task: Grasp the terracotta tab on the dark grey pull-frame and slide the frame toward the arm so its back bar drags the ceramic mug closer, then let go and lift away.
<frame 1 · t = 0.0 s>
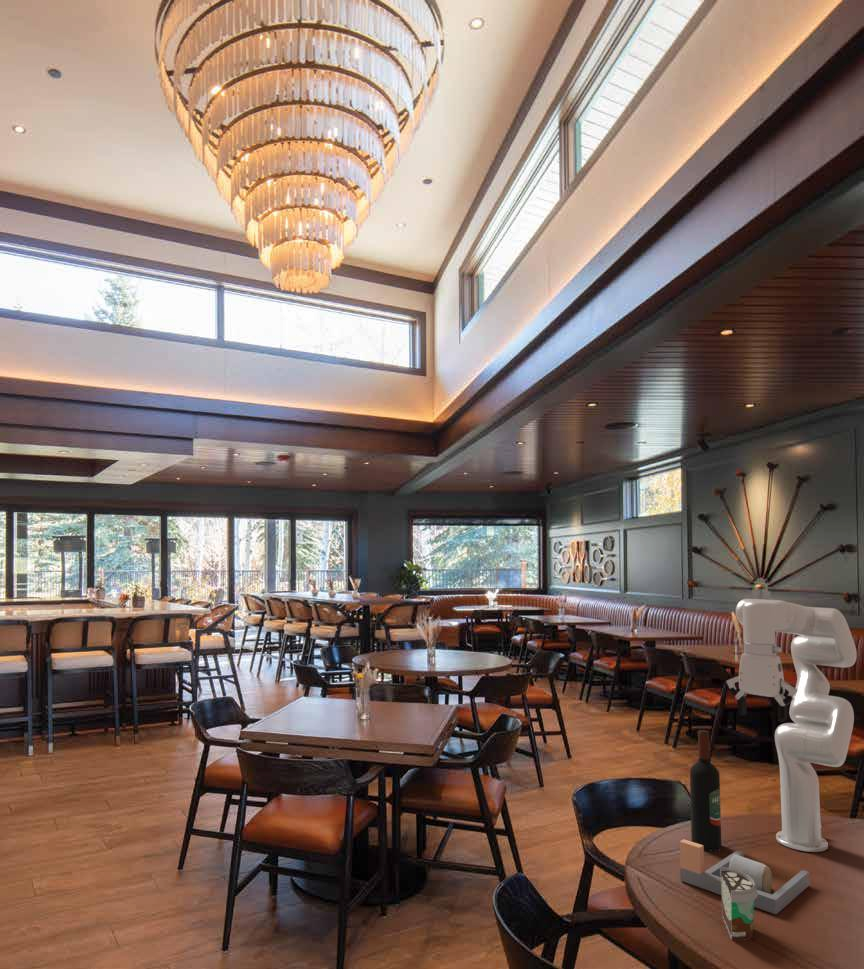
hand: (762, 718, 181), 37 cm above the table, tool pointing down, fingers open, 9 cm apart
wine bottle: (706, 846, 191), on the table
food container: (742, 931, 148), on the table
ceramic mug: (750, 892, 165), on the table
pull frame: (744, 863, 170), point 5 cm above the table, slide at 0.0 cm
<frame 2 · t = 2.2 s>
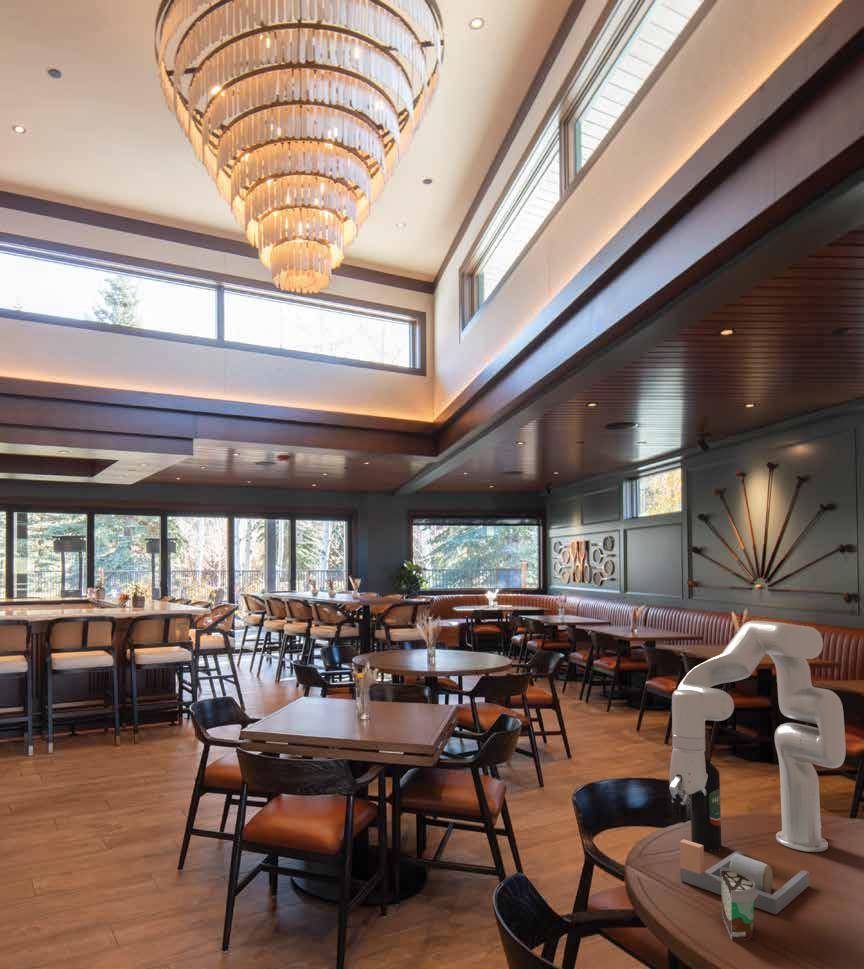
hand: (689, 816, 170), 16 cm above the table, tool pointing down, fingers open, 9 cm apart
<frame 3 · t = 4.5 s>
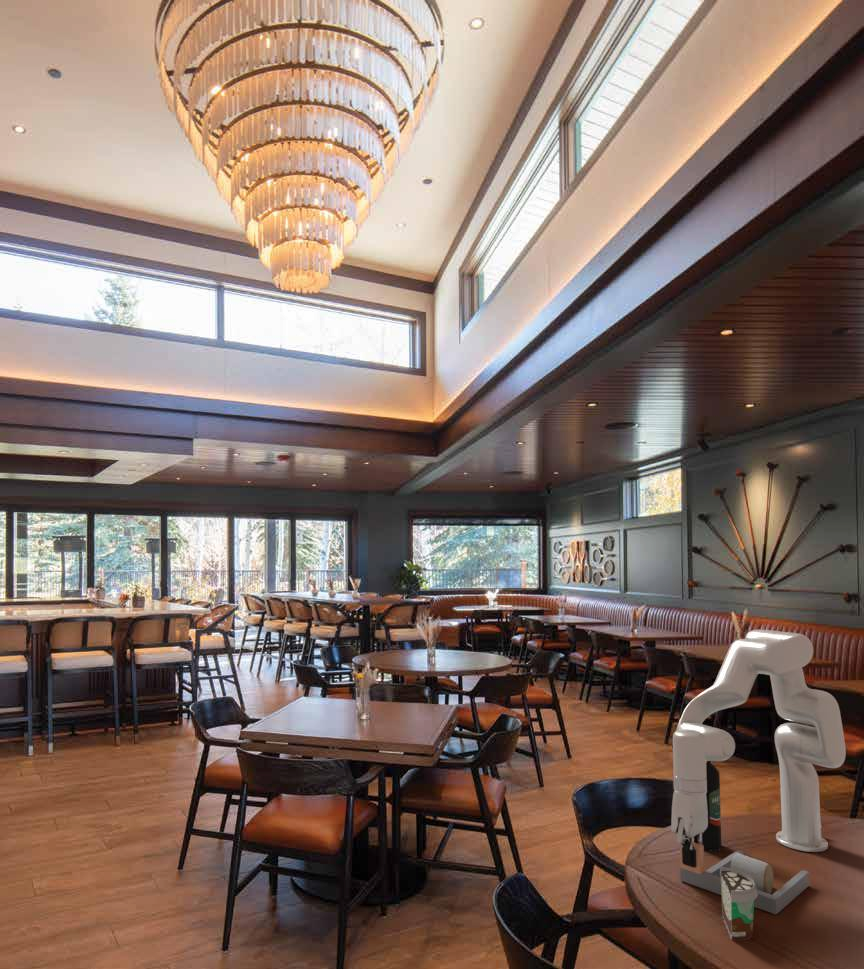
hand: (692, 863, 169), 5 cm above the table, tool pointing down, fingers closed on pull frame, 2 cm apart
pull frame: (744, 863, 170), point 5 cm above the table, slide at 0.0 cm, touching gripper
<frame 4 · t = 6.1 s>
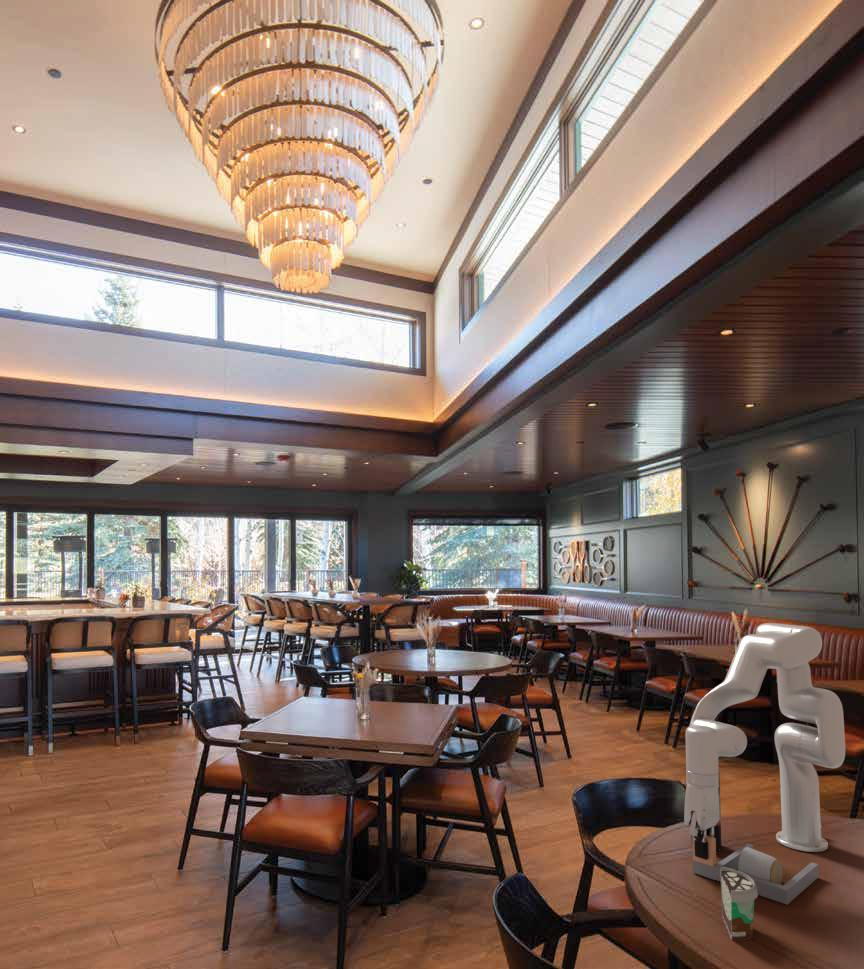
hand: (704, 855, 174), 5 cm above the table, tool pointing down, fingers closed on pull frame, 2 cm apart
ceramic mug: (762, 884, 169), on the table, touching pull frame
pull frame: (755, 855, 174), point 5 cm above the table, slide at 6.4 cm, touching ceramic mug, gripper
everything else where it was.
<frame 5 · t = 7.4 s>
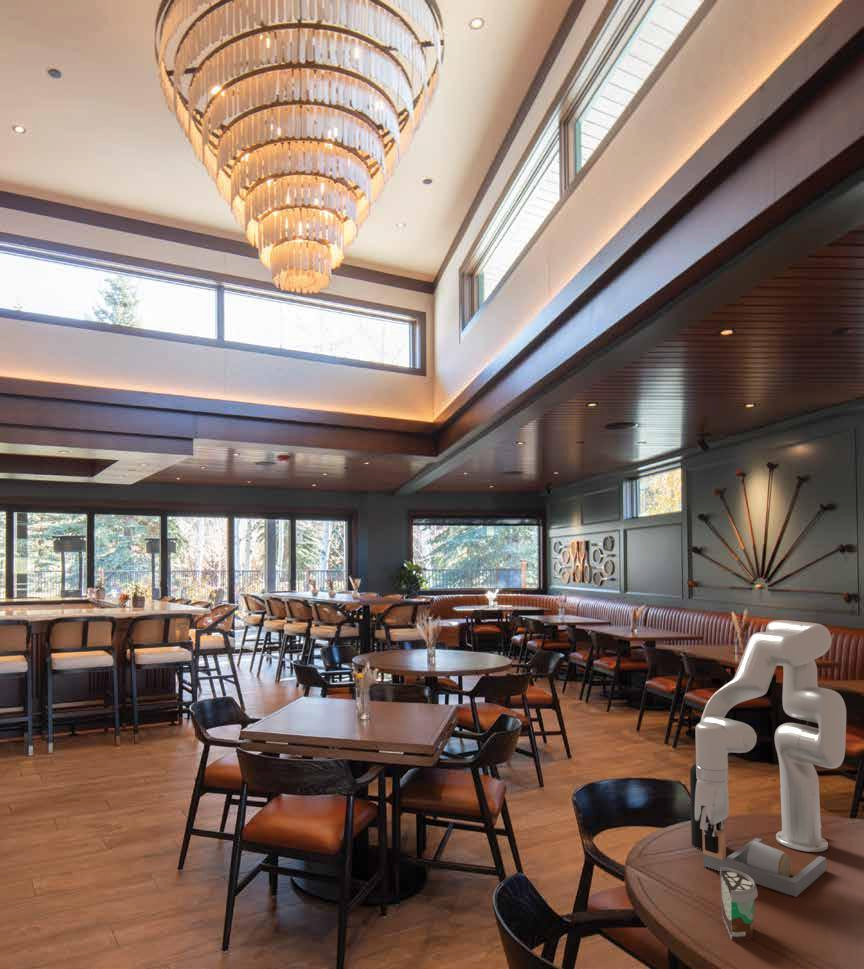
hand: (714, 849, 177), 5 cm above the table, tool pointing down, fingers closed on pull frame, 2 cm apart
ceramic mug: (770, 878, 173), on the table, touching pull frame
pull frame: (763, 849, 178), point 5 cm above the table, slide at 11.9 cm, touching ceramic mug, gripper
everything else where it was.
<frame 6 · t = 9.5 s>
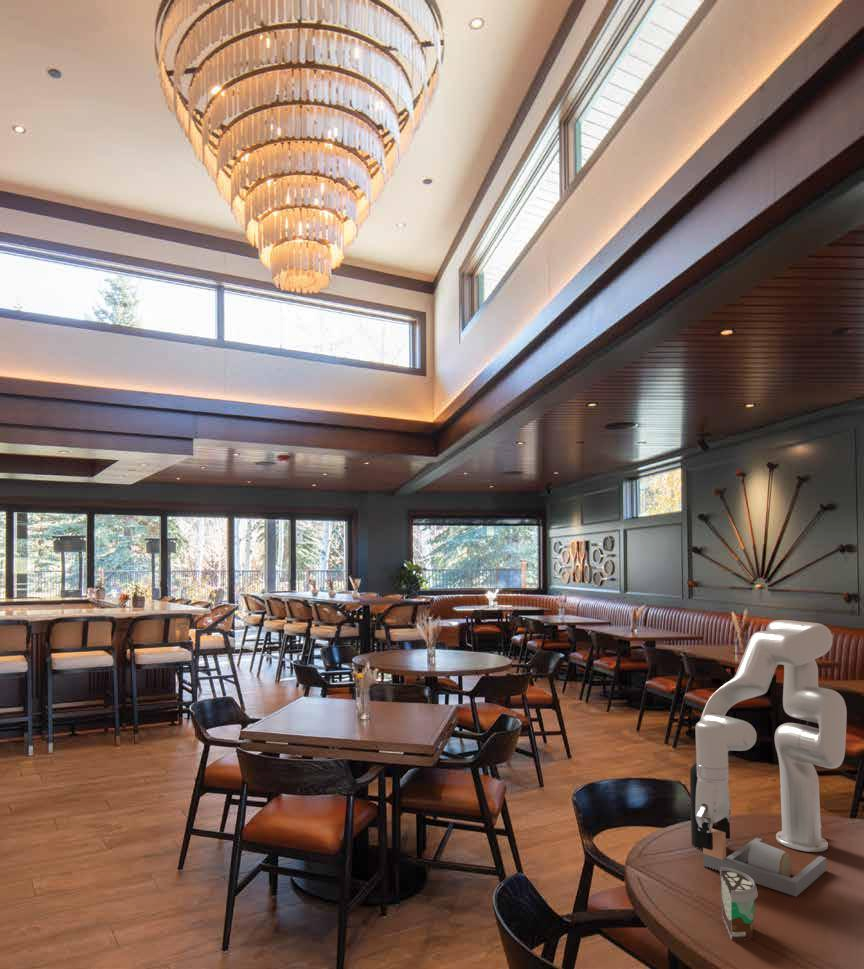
hand: (715, 842, 178), 6 cm above the table, tool pointing down, fingers open, 9 cm apart
ceramic mug: (771, 877, 173), on the table
pull frame: (763, 849, 178), point 5 cm above the table, slide at 12.0 cm
everything else where it was.
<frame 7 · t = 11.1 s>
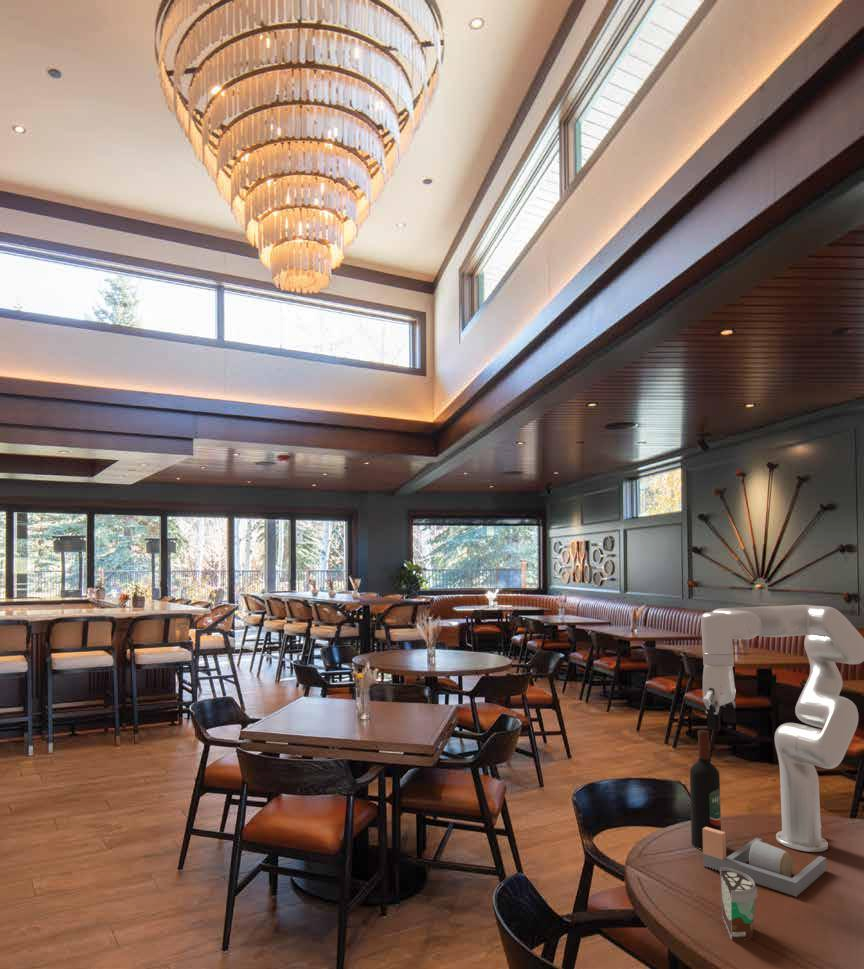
hand: (721, 726, 186), 33 cm above the table, tool pointing down, fingers open, 9 cm apart
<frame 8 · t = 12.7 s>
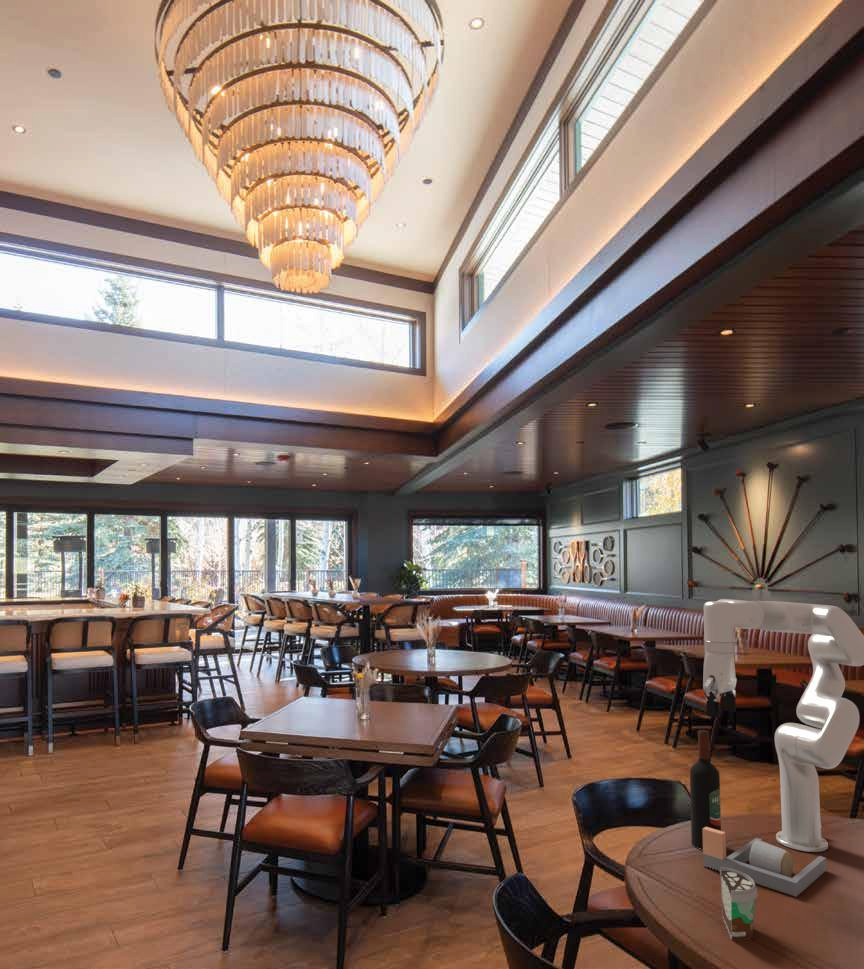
hand: (721, 714, 187), 36 cm above the table, tool pointing down, fingers open, 9 cm apart
at the end: ceramic mug inside the target area (0.4 cm from its centre), on the table; ceramic mug tilted 0°; pull frame slide at 12.0 cm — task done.
